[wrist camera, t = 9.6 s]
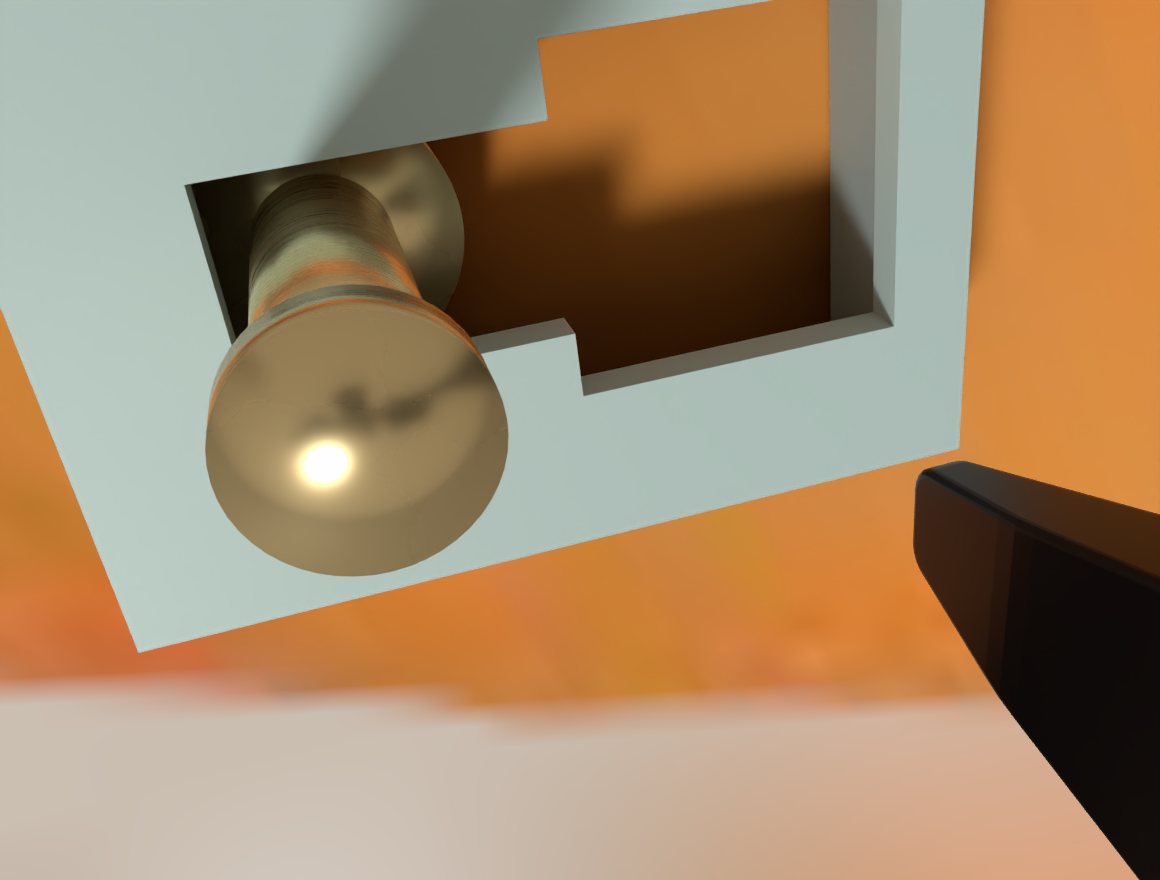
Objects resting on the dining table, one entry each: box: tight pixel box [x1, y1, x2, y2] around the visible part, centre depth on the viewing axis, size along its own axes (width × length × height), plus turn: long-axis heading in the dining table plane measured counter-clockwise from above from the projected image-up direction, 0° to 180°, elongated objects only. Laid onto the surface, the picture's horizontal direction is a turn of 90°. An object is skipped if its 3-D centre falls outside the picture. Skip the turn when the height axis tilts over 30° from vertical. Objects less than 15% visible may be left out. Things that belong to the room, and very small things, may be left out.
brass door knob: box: [191, 142, 509, 577], centre depth 16 cm, size 5×5×9 cm
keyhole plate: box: [0, 0, 985, 653], centre depth 19 cm, size 16×12×3 cm
